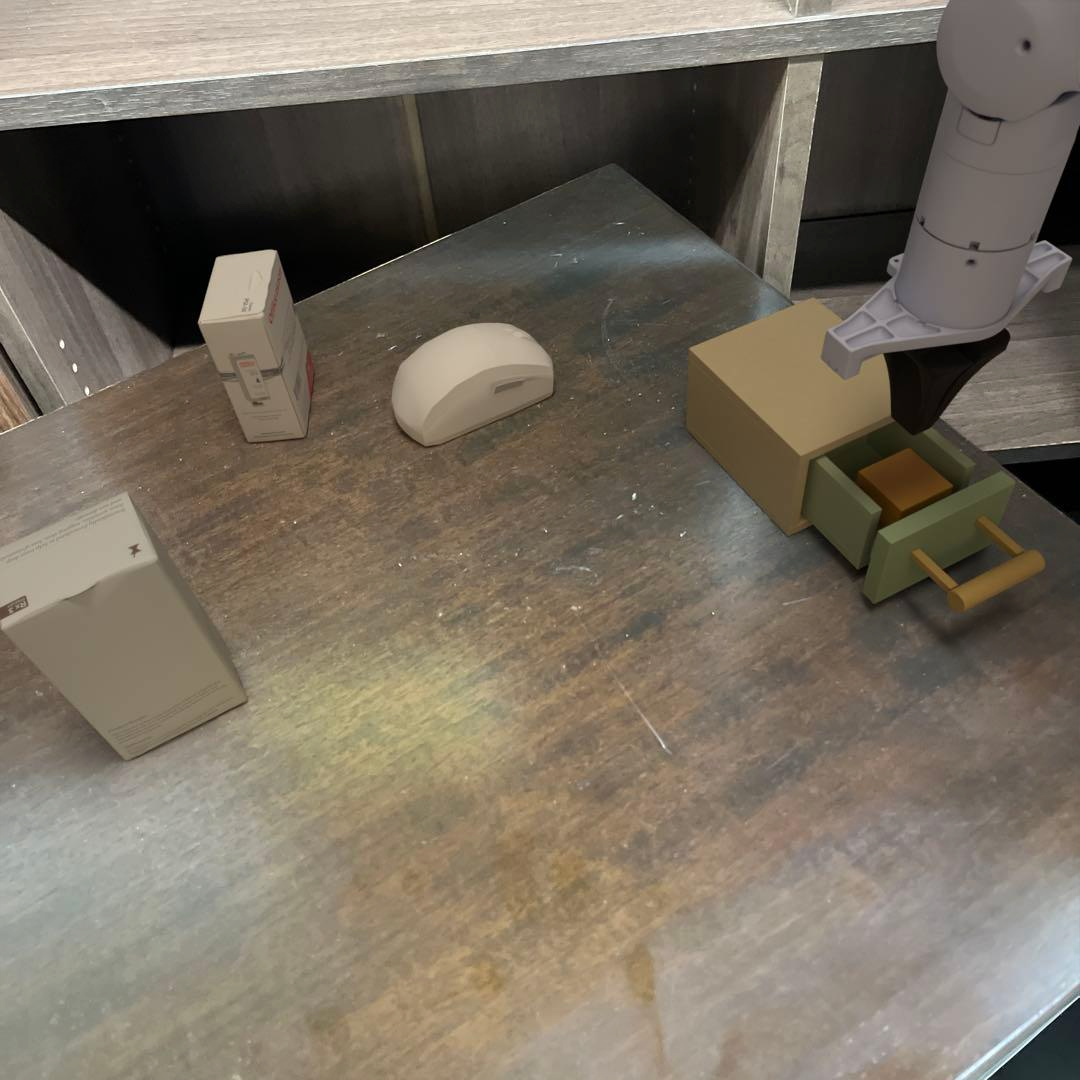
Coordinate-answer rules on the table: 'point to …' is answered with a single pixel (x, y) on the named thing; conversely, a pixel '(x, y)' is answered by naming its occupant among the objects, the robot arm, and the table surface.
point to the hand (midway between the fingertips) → (910, 421)
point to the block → (902, 486)
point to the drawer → (915, 519)
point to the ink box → (258, 345)
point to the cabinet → (780, 404)
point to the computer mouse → (469, 381)
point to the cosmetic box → (116, 627)
